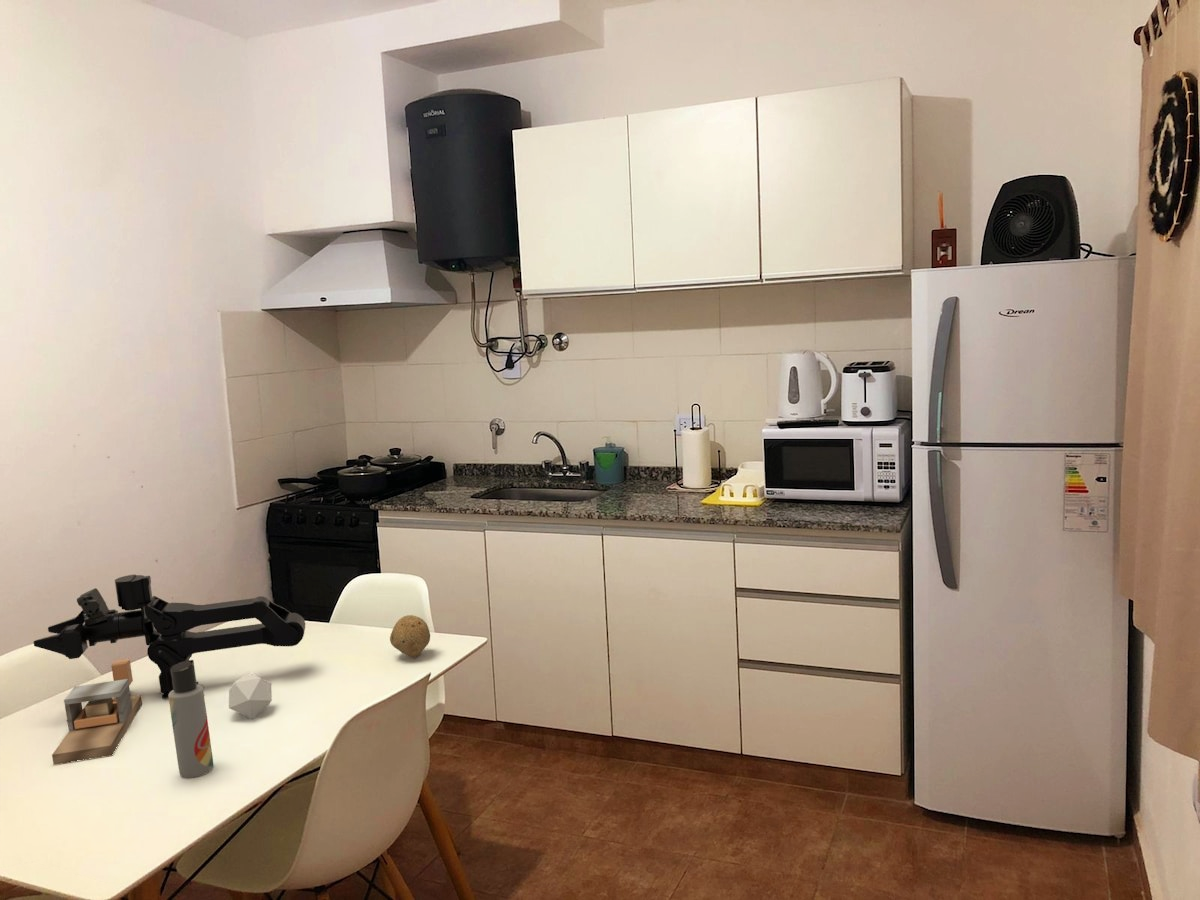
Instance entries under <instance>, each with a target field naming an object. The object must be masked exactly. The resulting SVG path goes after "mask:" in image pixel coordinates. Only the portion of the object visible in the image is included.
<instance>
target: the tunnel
mask: <svg viewBox="0 0 1200 900" xmlns="http://www.w3.org/2000/svg"><path fill="white" fill-rule="evenodd" d="M113 697H116V701H117V707H118V714H119V720H118V722H117V723H110V724H104V725H98V726H91V727H85V728H78V729H75V726H74V721H75V719H76V718H77V717H78V715H79V714H80V713H81V711H82V710H83V705H82V704H83V703H84V702H85V703H87V702H89V701H93V700H100V699H107V698H113ZM63 703H64V708H65V709H64V710H65V714H66V715H65V716H66V721H67V727H68V732H67V734H65V736H64V737H63V739H62V740H61V742H60V743H59V745H58V746H57V747H56V749H55V750H54V751H53V753H52V754H51V756H52V757H51V758H52V763H53V765H54V764H57V765H61V763H63V764H68V763H67V762H69V763H72V762H71V761H75V762H78V761H77V760H81V761H86V760H85V759H87V760H90V759H89V758H94V759H96V758H95V757H100V758H103V757H102V756H106V757H110V756H109V755H112V754H113V755H114V753H115V752H116V750H117V748H118V746H119V745H118V744H120V743H121V742H122V740H123V737H124V736H125V734H126V733H127V731H128V729H129V727H130V726H131V723H132V722H133V720H134V719H135V717H136V716H137V713H138V712H139V711H140V709H141V707H142V706H143V700H142V695H141V694H140V695H138V694H137V695H134V696H132V695H131V690H130V686H129V681H128V679H124V680H117V681H114V680H112V681H111V680H110V681H103V682H96V683H91V684H90V683H89V684H83V685H77V686H73V688H72V689H71V691H70V692H69V693H68V694H67V696H65V698H64V699H63ZM121 739H122V740H121ZM116 747H117V748H116ZM115 749H116V750H115ZM114 751H115V752H114ZM113 755H112V756H113ZM83 759H84V760H83Z"/></svg>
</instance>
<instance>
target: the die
mask: <svg viewBox="0 0 1200 900" xmlns="http://www.w3.org/2000/svg"><path fill="white" fill-rule="evenodd" d="M272 692H273V691H272V683H271V682H269V681H268V680H265V679H264V678H261V677H260V676H257V675H254V674H253V673H250V672H248V673H246V674H245V675H243V676H242V677H240V678H239V679H238V680H237V679H236V681H235V682H233V684H232V686H231V687H230V688H229V691H228V709H230V710H232V711H234V712H236V713H238V714H241V715H243V716H244V717H247V718H249V719H251V720H253V719H254V718H255V717H257V715H259V714H260V713H262V712H263V711H265V710H266V709H267V708H268V706H269V705H270V704H271V702H272V700H273V698H272V697H273V694H272Z"/></svg>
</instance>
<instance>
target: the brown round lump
mask: <svg viewBox="0 0 1200 900" xmlns="http://www.w3.org/2000/svg"><path fill="white" fill-rule="evenodd" d="M389 641H390V644H391V646H393V648H395V649H396V650H397V651H399V652H401V653H402V654H404V656H406V657H408V658H411V659H415V658H418V657H419V656H420V655H421V654H422V653H423V651H424V650H425V649H426V647H427V646H428V645H429V643H430V641H431V633H430V628H429V626H428V624H427V622H426V621H425V620H424V619H423V618H421V617H419V616H418V615H417V616H416V615H414V614H413V615H412V614H411V615H410V614H407V615H403V616H402V617H400V618H399V619H398V620H397V622H396V623H395V624H394V626H393V629H392V630H391V633H390V636H389Z"/></svg>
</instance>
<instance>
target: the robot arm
mask: <svg viewBox="0 0 1200 900" xmlns="http://www.w3.org/2000/svg"><path fill="white" fill-rule="evenodd" d="M151 578H152V577H151V576H150V575H141V574H129V575H124V576H121V577H120V576H119V577H118V578H115V579H114V585H115V591H116V599H117V605H118V607H119V608H121V610H124V611H121V612H119V610H117V609H115V608H114V609H109V608H108V606H107V603H106V601H105V599H104V597H103V596H102V594H101V592H100V591H99V590H98V588H97V587H95V588H93V589H90V590H89V591H86V592H85V593H82V594H80V596H79V597H77V598H76V602H77V604H78V607H80V608H81V611H80V612H79V613H78V614H77V616H75V617H73V618H70V619H68V620H67V619H66V620H65V621H61V622H59V623H56V624H53V625H50V626H48V627H47V631H48V633H50V634H54V635H50V636H45V637H42V638H39V639H36V640H34V641H33V646H34V647H36V648H39V649H44V650H47V651H50V652H53V653H56V654H59V655H63V656H65V658H68V659H69V660H73V659H74V660H75V659H79V658H80V657H82V656H83V654H84V653H85V652H86V650H87V649H88V648H89V647H95V646H96V645H97V644H99V643H105V642H110V644H115V643H117V642H118V641H120V640H126V639H133V638H140V637H144V640H145V644H146V646H148V647H147V657H148V659H149V660H150V661H151V662H153V664H155V665H157V667H158V668H159V670H160V673H159V675H158V683H159V688H160V694H162V695H161V697H162V698H161V699H163V700H165V699H169V697H168V695H169V693H170V692H171V691H172V690H173V684H172V677H171V667H172V666H173V665H176V664H178V663H180V662H184V661H190V662H191V663H192V664H194V665H195V662H194V659H191V658H192V655H194V654H197V653H198V654H199V653H205V652H212V651H219V650H225V649H226V650H227V649H232V648H240V647H241V648H242V647H247V646H255V645H269V646H273V647H294V646H297V645H298V644H300V642H301V641H302V640H303V638H304V636H305V629H306V620H305V619H304V617H303V616H302V615H300V614H299V613H298V612H290V611H289V610H287V609H286V608H284V607H283V606H281V605H278V604H276V603H275V602H272V601H271V600H269V598H267V597H265V596H264V595H263V596H260V595H259V596H257V597H252V598H245V599H237V600H231V601H223V602H215V603H207V604H195V603H194V604H193V603H187V602H168V601H165V600H164V599H162V598H160V597H158V596H156V595H153V592H152V585H151V584H152V579H151ZM249 619H256V620H257V621H259V622H260V623H255V624H250V625H249V624H248V625H243V626H242V625H241V626H234V627H227V628H221V629H220V628H219V629H212V630H205V631H197V632H194V631H190V630H192V629H194V628H196V627H200V626H205V625H206V626H207V625H213V624H214V625H215V624H218V623H219V624H220V623H227V622H234V621H241V620H242V621H243V620H249ZM88 644H89V645H88ZM88 646H89V647H88ZM196 683H197V685H199V681H196Z"/></svg>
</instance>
